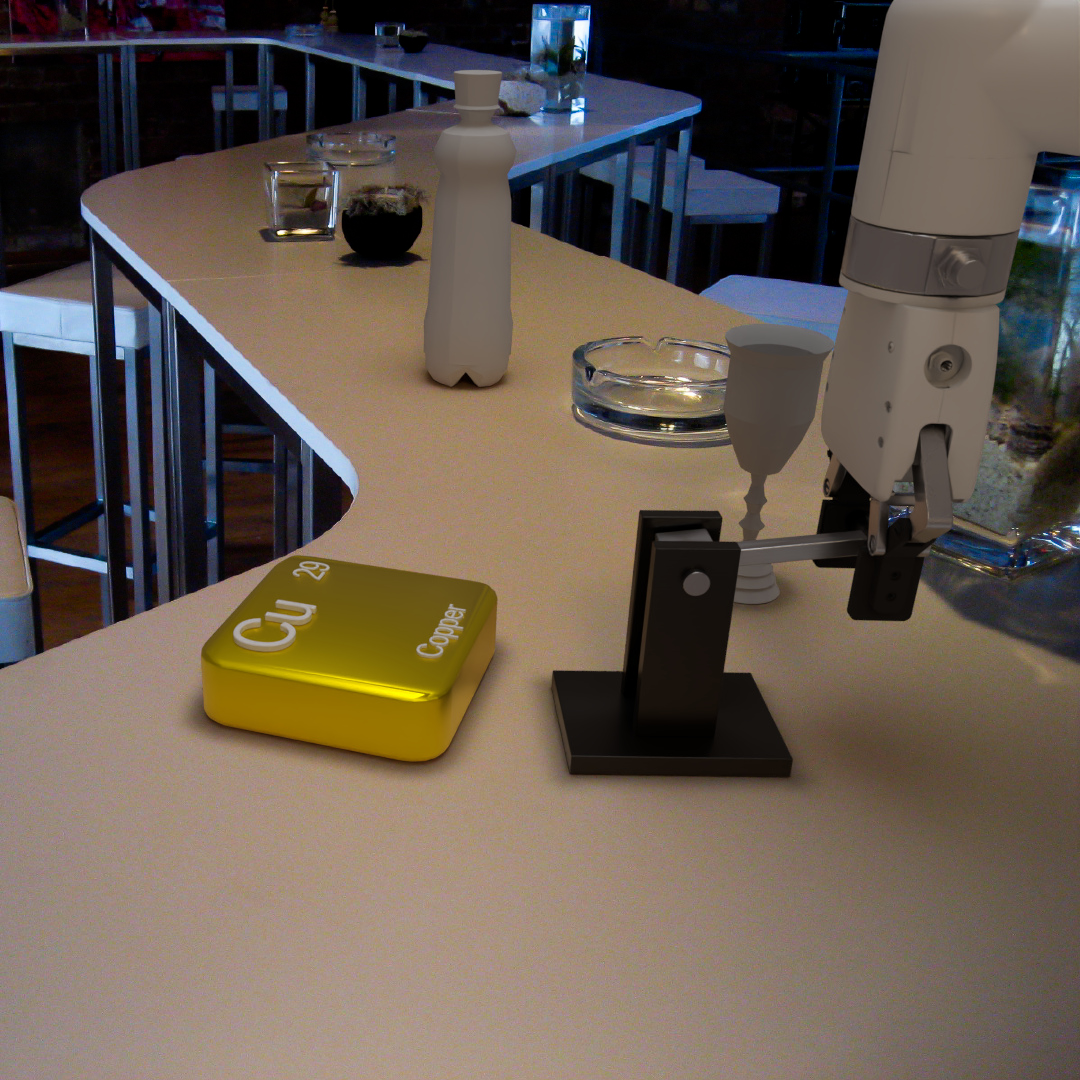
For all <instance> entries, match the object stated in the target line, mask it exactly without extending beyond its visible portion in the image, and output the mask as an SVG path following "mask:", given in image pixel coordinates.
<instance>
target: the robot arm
mask: <svg viewBox="0 0 1080 1080" xmlns="http://www.w3.org/2000/svg"><path fill="white" fill-rule="evenodd" d="M882 29H883V30H882V34H881V38H880V45H879V50H878V55H877V56H878V57H877V61H876V62H877V63H876V67H875V74H874V80H873V85H872V91H871V97H870V102H869V109H868V114H867V120H866V125H865V126H866V127H865V130H864V131H865V132H864V138H863V144H862V149H861V154H860V159H859V160H860V161H859V166H858V170H857V177H856V181H855V187H854V192H853V198H852V206H851V212H850V213H851V214H850V216H849V222H848V228H847V234H846V239H845V245H844V250H843V255H842V261H841V262H842V263H841V267H840V273H839V277H838V283H839V285H840V286H841V287H843V288H844V289H845V290H847V294H846V298H845V301H844V305H843V309H842V311H841V312H842V313H841V316H840V320H839V325H838V328H837V333H836V338H835V341H834V348H833V349H832V355H831V359H830V363H829V368H828V374H827V378H826V384H825V390H824V396H823V403H822V410H821V420H820V432H821V436H822V439H823V441H824V444H825V445H826V446H827V450H826V455H827V457H828V459H829V464H828V466H827V470H826V472H825V476H824V479H823V483H822V494H823V496H824V498H827V499H822V500H821V506H820V511H819V516H818V522H817V528H816V533H815V534H826V533H837V532H847V529H846V528H845V519H846V517H847V516H848V515H849V514H850V513H851V512H853V511H855V510H864V511H866V512H868V513H869V514H870V517H869V531H868V547H859V550H858V555H857V556H846V557H835V558H825V559H814V560H811V561H812V562H813V564H814V566H815V567H816V568H818V569H819V568H820V569H854V571H853V576H852V581H851V586H850V591H849V596H848V601H847V606H846V613H847V614H848V616H849V618H851V620H853V621H866V622H867V621H869V622H870V621H871V622H906V621H908V620H910V619H911V617H912V615H913V612H914V611H913V610H914V606H915V603H916V599H917V593H918V588H919V584H920V580H921V575H922V571H923V567H924V564H925V563H924V562H925V558H928V557H929V556H930V555H931V551H932V545H933V544H934V543H936V541H937V540H938V538H939V537H941V536H943V535H945V534H946V533H948V532H949V531H951V530H952V528H953V525H954V511H953V503H955V504H965V503H967V502H968V501H969V500H970V499H971V497H972V496H973V494H974V491H975V488H976V484H977V480H978V475H979V471H980V467H981V466H980V465H981V461H982V455H983V450H984V446H985V440H986V434H987V431H988V430H987V429H988V423H989V418H990V412H991V407H992V400H993V393H994V387H995V379H996V371H997V361H998V349H999V336H1000V307H998V305H997V304H999V303H1001V302H1003V301H1004V299H1005V296H1006V291H1007V286H1008V282H1009V279H1010V278H1009V277H1010V273H1011V270H1012V266H1013V261H1014V257H1015V252H1016V247H1017V244H1018V240H1019V235H1020V229H1021V226H1022V222H1023V218H1024V213H1025V209H1026V205H1027V201H1028V196H1029V194H1030V193H1029V192H1030V189H1031V184H1032V180H1033V175H1034V171H1035V167H1036V163H1037V159H1038V154H1039V153H1042V152H1048V153H1049V152H1050V153H1057V154H1063V155H1070V156H1077V157H1080V0H893V1H892V2H891V4H890V6H889V8H888V9H887V12H886V15H885V20H884V24H883V28H882ZM895 483H913V484H912V486H913V492H904V491H903V492H899V491H895V490H894V486H895ZM829 498H831V499H829ZM890 507H913V509H912V511H911V512H910V513H909V515H908V516H907V517H899V518H897V519H896V520H895V521H894V522H893V523H892V524H890V525H889V523H890V510H891V509H890Z"/></svg>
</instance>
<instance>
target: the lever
mask: <svg viewBox="0 0 1080 1080" xmlns="http://www.w3.org/2000/svg"><path fill="white" fill-rule="evenodd" d="M869 517H870V514H869V513H868V512H866V511H864V510H855V511H853V512H851V513H850V514H849V515H848V516H847V517H846V519H845V528H846V529H847V532H837V533H826V534H816V533H815V534H806V535H795V536H794V535H793V536H784V537H774V538H763V539H761V538H760V539H756V540H751V541H743V540H741V541H736V542H737V543H738V545H739V547H740V549H741V555H740V562H739V566H748V565H759V564H770V563H771V564H779V563H780V564H781V563H790V562H791V563H792V562H801V561H802V562H803V561H812V560H814V559H825V558H835V557H846V556H857V555H858V550H859V547H868V531H869ZM655 541H712V539H711V537H710V535H709V533H708V531H707V529H696V530H686V531H675V532H664V533H656V534H655Z"/></svg>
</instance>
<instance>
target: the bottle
mask: <svg viewBox="0 0 1080 1080" xmlns="http://www.w3.org/2000/svg"><path fill="white" fill-rule="evenodd" d="M502 77H503V72H502V71H499V70H492V69H491V70H489V69H464V70H463V69H462V70H455V71H453V82H454V84H453V85H454V95H455V96H454V98H455V104H454V105H453V106H452V107H453V108H454V109H456V110H457V112H458V114H459V117H460V119H461V120H460V121H459V123H457V124H454V125H453V126H450V127H448V128H446V129H443V130H442V131H441V134H440V136H439V138H438V139H437V142H436V144H435V146H434V148H433V154H434V160H435V164H436V167H437V168H438V171H439V172H440V175H439V180H438V183H437V188H436V194H435V198H434V208H433V209H434V210H433V224H432V225H433V226H432V235H431V236H432V237H431V250H430V251H431V252H430V267H429V278H428V279H429V281H428V292H427V293H428V294H427V306H426V309H425V313H424V314H425V315H424V319H423V353H424V357H425V358H424V361H425V362H424V363H425V369H426V370H427V371H428V373H429V375H430V376H431V378H432V380H434V381H435V382H437V383H439V384H442V385H444V386H448V387H451V388H452V387H454V386H455V385H458V383H459V382H460V380H461V379H462V377H463V376H464V375H465V374H467V375H468V376H469V378H470V379H471V380H472V382H473V383H474V385H476V386H477V387H478V388H482V387H491V386H493V385H495V384H497V383H498V382H500V380H501V379H502V377H503V376H504V375H505V373H506V372H507V371H508V369H509V367H508V366H509V361H510V356H511V354H512V343H513V330H514V321H513V314H512V306H511V305H512V304H511V300H512V298H511V297H512V296H511V294H512V291H511V290H512V283H511V282H512V197H511V188H510V185H509V184H510V182H509V176H508V175H509V173H510V171H511V169H512V167H513V166H514V162H515V160H516V159H515V158H516V154H517V149H516V146H515V144H514V142H513V139H512V136H511V133H510V132H509V131H508V130H506V129H505V128H502V127H500V126H499V125H497V124H494V123H493V121H492V119H493V116H494V114H495V112H496V110H498V109H500V108H501V106H500V105H499V98H500V92H501V84H502V79H503V78H502Z"/></svg>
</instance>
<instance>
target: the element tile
mask: <svg viewBox="0 0 1080 1080" xmlns="http://www.w3.org/2000/svg"><path fill="white" fill-rule="evenodd" d="M497 619H498V595H497V593H496V590H494V589H493V588H492V587H491V586H490V585H489V584H487V583H484V582H481V581H476V580H470V579H465V578H457V577H450V576H443V575H438V574H432V573H424V572H417V571H410V570H405V569H398V568H391V567H384V566H379V565H371V564H365V563H359V562H352V561H345V560H339V559H333V558H325V557H319V556H312V555H301V554H297V555H296V554H295V555H290V556H289V557H287V558H285V559H284V560H282V561H280V562H278V563H277V564H275V565H274V566H273V567H272V568H271V569H270V571H268V573H267V574H266V575H265V576H264V577H263V578H262V579H261V580H260V582H258V584H257V585H256V586H255V587H254V588H253V589H252V591H250V593H249V594H248V595H247V596H246V597H245V598H244V599H243V600H242V601H241V603H240V604H239V605H238V606H237V607H236V608H235V609H234V610H233V612H232V613H231V614H230V615H229V616H227V618H226V619H225V620H224V621H223V623H221V625H220V626H219V627H218V628H217V629H216V630H215V632H214V633H213V634H212V635H211V636H210V637H209V638H208V639H207V640H206V641H205V642H204V644H203V646H202V647H201V651H200V667H201V682H202V684H201V685H202V696H203V697H202V699H203V710H204V712H205V714H206V715H207V716H208V718H209V719H210V720H212V721H214V722H216V723H218V724H220V725H222V726H224V727H230V728H234V729H240V730H244V731H249V732H250V731H251V732H256V733H260V734H265V735H270V736H276V737H280V738H285V739H290V740H296V741H299V742H305V743H310V744H314V745H315V744H316V745H320V746H326V747H330V748H336V749H340V750H346V751H350V752H356V753H361V754H367V755H371V756H376V757H381V758H387V759H391V760H395V761H402V762H426V761H429V760H433V759H436V758H437V757H439V756H441V755H442V754H443V753H445V751H447V749H448V748H449V746H450V744H451V743H452V740H453V739H454V737H455V735H456V732H457V730H458V728H459V726H460V724H461V722H462V720H463V718H464V716H465V714H466V712H467V710H468V708H469V706H470V704H471V701H472V700H473V697H474V695H475V693H476V691H477V689H478V687H479V685H480V683H481V681H482V679H483V677H484V674H485V672H487V671H486V670H487V669H488V666H489V664H490V662H491V660H492V658H493V656H494V654H495V650H496V639H497V638H496V637H497Z"/></svg>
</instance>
